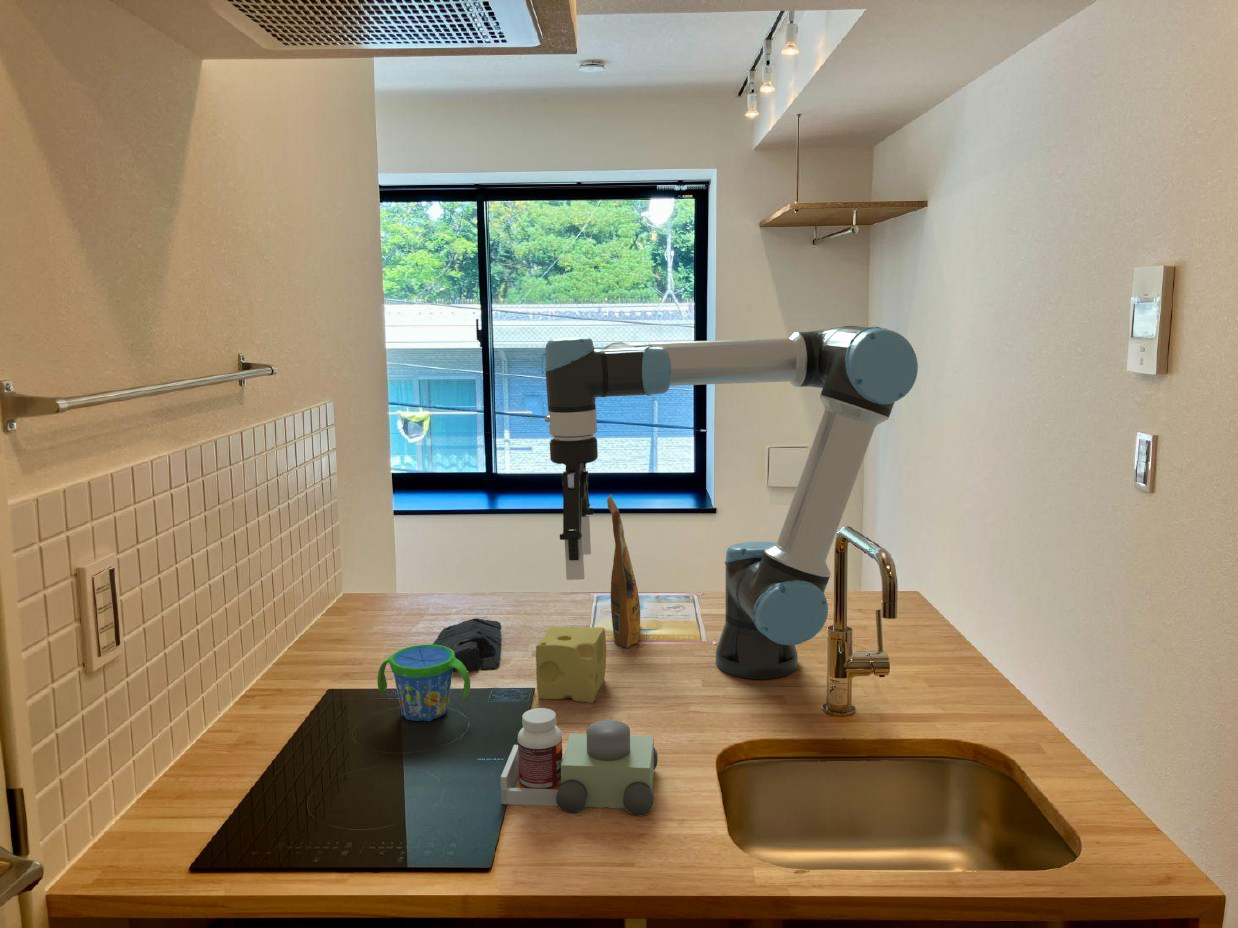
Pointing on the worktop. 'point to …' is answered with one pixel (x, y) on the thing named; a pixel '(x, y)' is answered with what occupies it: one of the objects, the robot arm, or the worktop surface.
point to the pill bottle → (539, 750)
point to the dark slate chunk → (473, 643)
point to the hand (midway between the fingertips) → (579, 566)
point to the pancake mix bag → (623, 587)
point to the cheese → (571, 663)
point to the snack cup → (423, 680)
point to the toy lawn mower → (594, 772)
